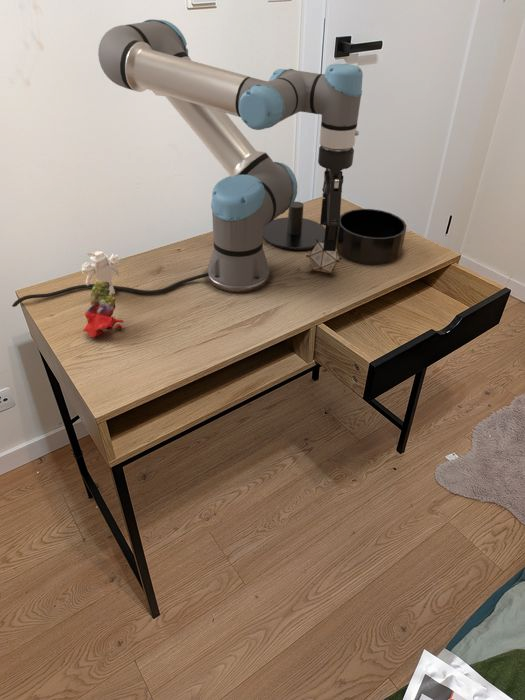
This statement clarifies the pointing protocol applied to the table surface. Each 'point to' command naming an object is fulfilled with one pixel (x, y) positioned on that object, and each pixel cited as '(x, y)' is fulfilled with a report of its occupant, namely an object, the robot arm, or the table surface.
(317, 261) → the game die
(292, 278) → the table surface
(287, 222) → the pan lid
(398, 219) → the pan
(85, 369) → the table surface
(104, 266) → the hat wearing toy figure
